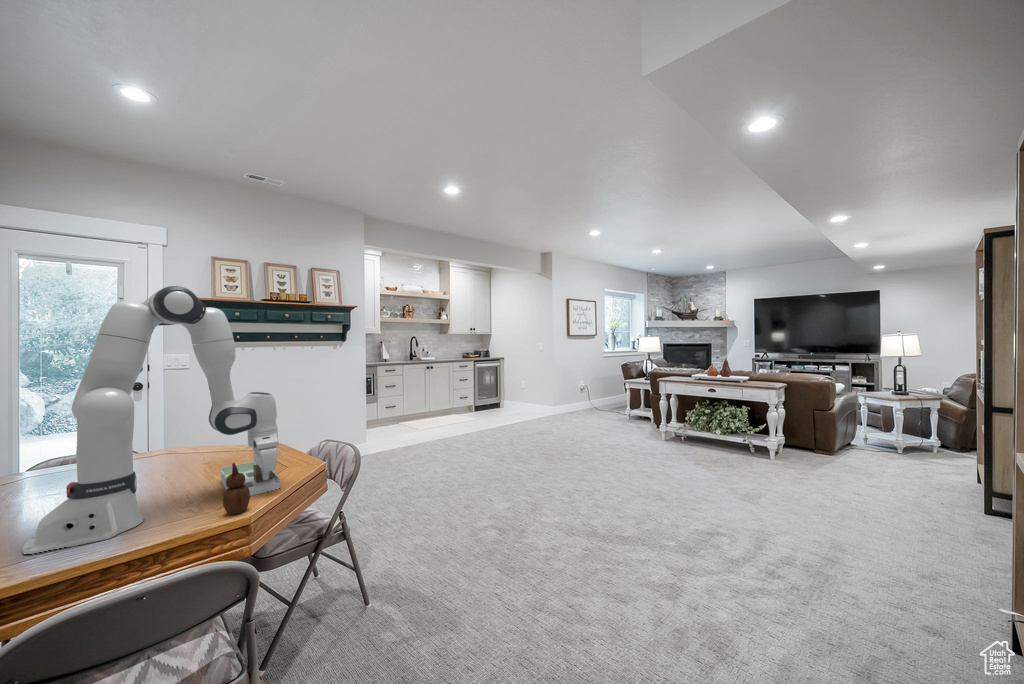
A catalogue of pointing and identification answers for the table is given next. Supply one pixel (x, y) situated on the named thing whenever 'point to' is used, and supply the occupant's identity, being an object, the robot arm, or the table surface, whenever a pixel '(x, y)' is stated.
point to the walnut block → (258, 474)
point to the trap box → (251, 478)
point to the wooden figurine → (236, 493)
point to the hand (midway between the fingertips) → (265, 479)
